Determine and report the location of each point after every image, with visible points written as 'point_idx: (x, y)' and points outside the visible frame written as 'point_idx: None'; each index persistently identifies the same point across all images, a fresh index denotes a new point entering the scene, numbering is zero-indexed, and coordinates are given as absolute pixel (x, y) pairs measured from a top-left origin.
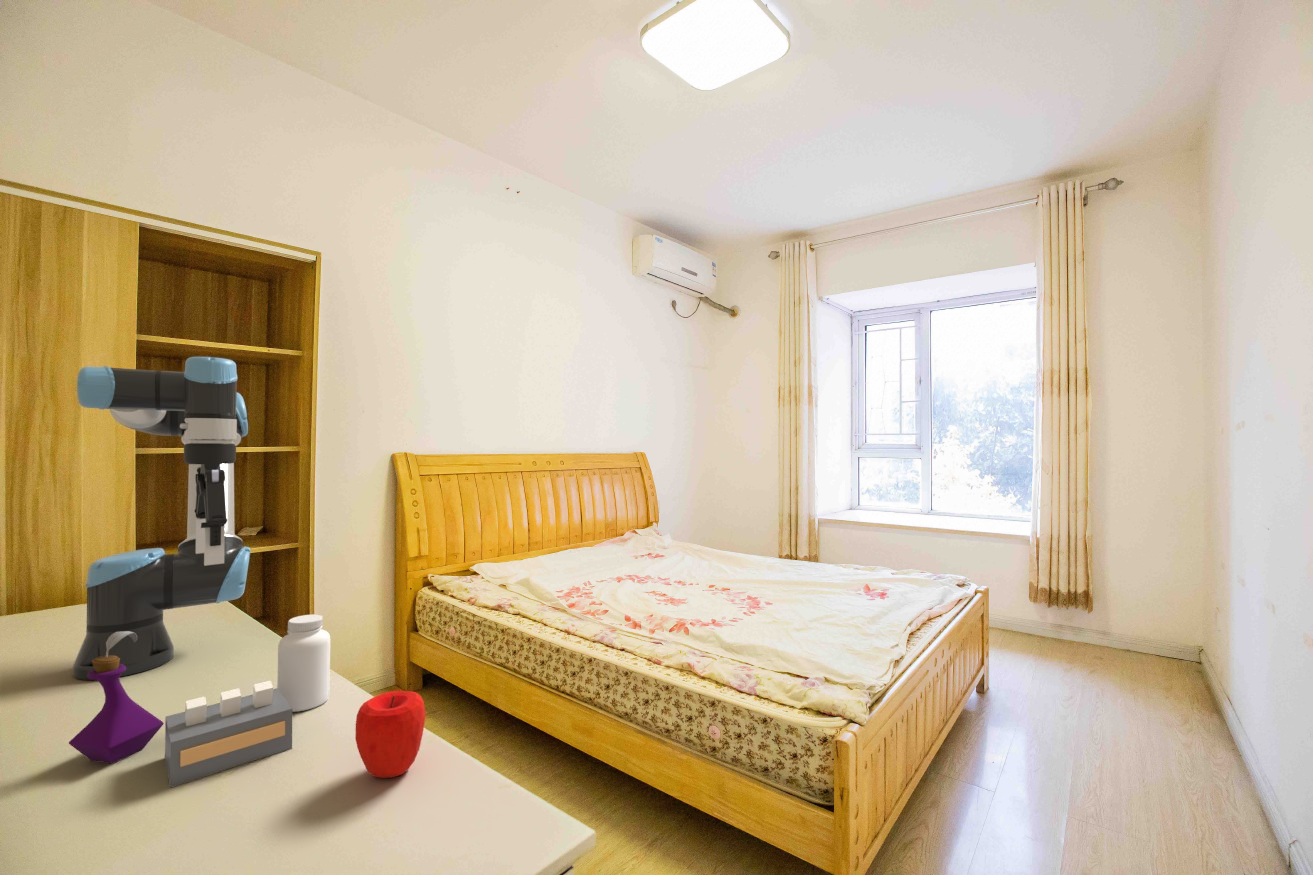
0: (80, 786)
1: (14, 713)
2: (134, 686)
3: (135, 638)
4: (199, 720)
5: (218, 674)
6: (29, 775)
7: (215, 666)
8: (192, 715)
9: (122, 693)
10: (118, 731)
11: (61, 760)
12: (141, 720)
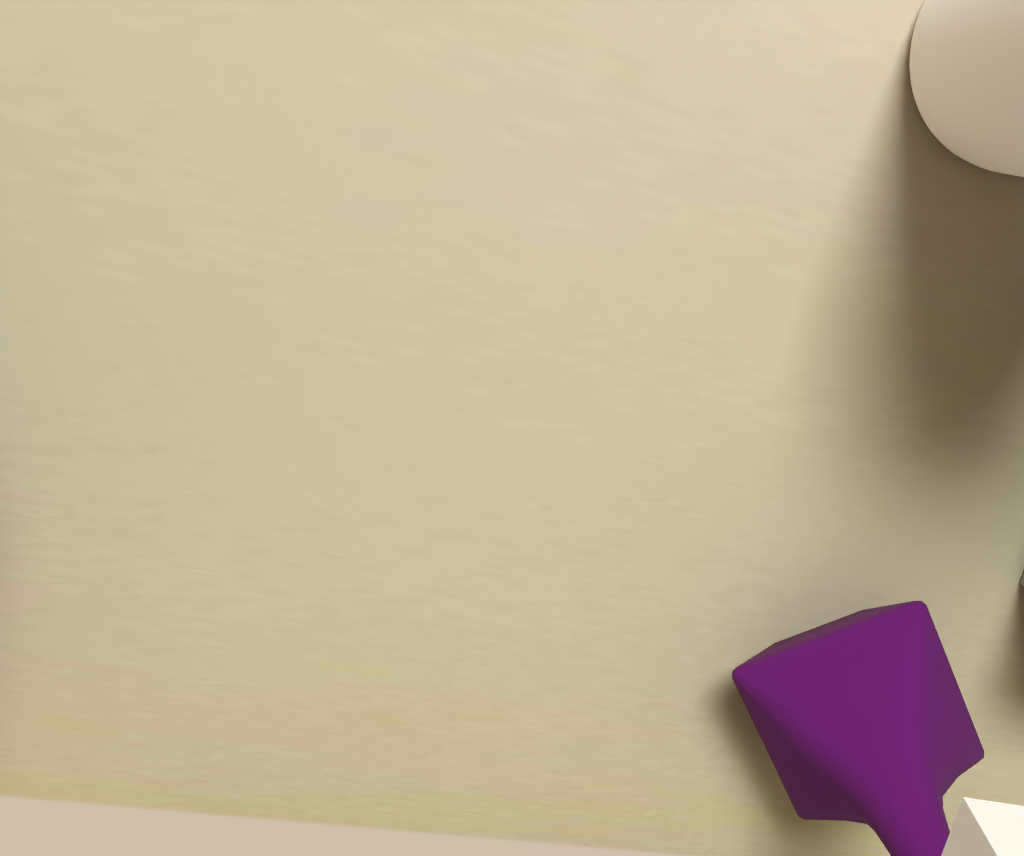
0: (983, 765)
1: (118, 800)
2: (113, 498)
3: None
4: None
5: (226, 207)
6: (757, 831)
7: (74, 180)
8: None
9: (942, 820)
10: (967, 753)
11: (721, 769)
12: (937, 689)
